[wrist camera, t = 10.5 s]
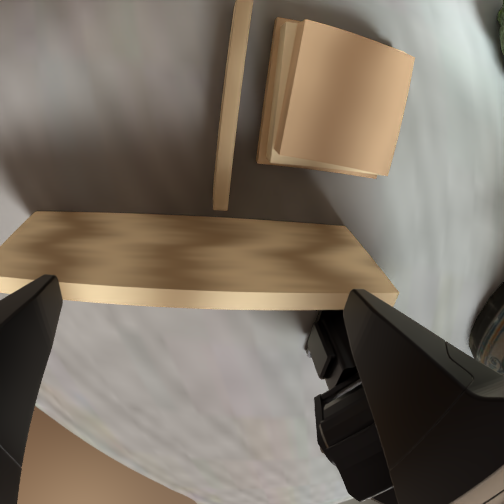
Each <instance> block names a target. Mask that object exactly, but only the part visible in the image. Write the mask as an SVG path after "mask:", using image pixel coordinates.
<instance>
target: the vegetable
mask: <svg viewBox="0 0 504 504" xmlns="http://www.w3.org/2000/svg"><path fill="white" fill-rule="evenodd" d="M502 6H503V7H502V8H501V10H499V13H498V16H497V20H498V22H499V24H500V27H501V28H500V30H499V33H500V43H501V50H502V53H503V55H504V0H503V5H502Z"/></svg>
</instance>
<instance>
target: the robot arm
mask: <svg viewBox="0 0 504 504" xmlns="http://www.w3.org/2000/svg"><path fill="white" fill-rule="evenodd" d="M62 303H63V299H62V294H61V290H60V285H59V281H58V278H57V276H56V275H49V274H44V275H42V276H40V277H39V278H37V279H35V280H34V281H32V282H30V283H28V284H27V285H25V286H23V287H22V288H20V289H18V290H17V291H15V292H13V293H12V294H10V295H8V296H7V297H5V298H4V299H2V300H0V504H17V500H18V491H19V484H20V476H21V470H22V468H21V467H22V463H23V456H24V452H25V447H26V441H27V437H28V432H29V427H30V423H31V419H32V415H33V411H34V407H35V403H36V399H37V395H38V392H39V388H40V384H41V381H42V378H43V374H44V371H45V368H46V364H47V361H48V358H49V355H50V352H51V349H52V345H53V341H54V337H55V332H56V328H57V324H58V320H59V316H60V312H61V308H62ZM307 345H308V348H307V351H306V353H307V356H308V357H310V358H312V359H313V362H314V365H315V368H316V371H317V373H318V376H319V378H320V379H325V380H326V383H327V386H328V389H329V390H328V391H327V392H325V393H323V394H322V395H321V394H319V395H318V396H316V397H314V401H315V416H316V428H317V441H318V444H319V446H320V450H321V452H322V453H324V454H325V455H326V457H327V458H328V460H329V461H330V462H331V463H332V464H334V465H335V466H336V467H337V468H338V470H339V472H340V474H341V477H342V479H343V481H344V484H345V486H346V489H347V491H348V493H349V494H350V495H351V496H352V497H354V498H355V499H356V500H358V501H360V502H363V501H365V500H367V499H369V498H370V499H372V500H374V501H376V502H378V503H380V504H504V376H503V375H502V374H500V373H498V372H496V371H495V370H493V369H491V368H489V367H488V366H486V365H484V364H482V363H481V362H479V361H477V360H475V359H474V358H472V357H470V356H469V355H467V354H465V353H464V352H462V351H461V350H459V349H457V348H456V347H454V346H453V345H451V344H450V343H448V342H445V340H443V339H442V338H440V337H439V336H437V335H436V334H434V333H433V332H431V331H430V330H428V329H426V328H425V327H423V326H422V325H420V324H419V323H417V322H416V321H414V320H412V319H411V318H409V317H408V316H406V315H405V314H403V313H401V312H400V311H398V310H397V309H395V308H393V307H392V306H390V305H389V304H387V303H386V302H384V301H382V300H381V299H379V298H378V297H376V296H374V295H373V294H371V293H370V292H368V291H366V290H365V289H352V290H351V291H350V293H349V296H348V298H347V301H346V304H345V307H344V310H320V311H319V314H318V317H317V320H316V322H315V323H314V324H313V327H312V330H311V334H310V337H309V340H308V343H307Z"/></svg>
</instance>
